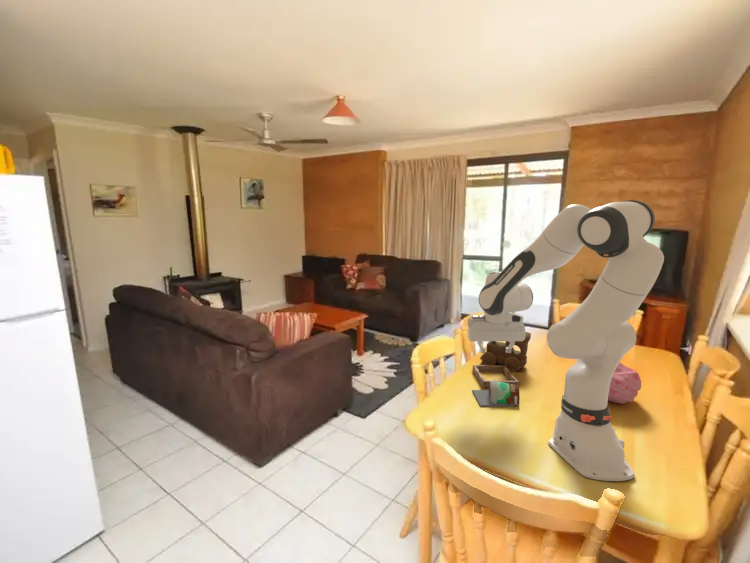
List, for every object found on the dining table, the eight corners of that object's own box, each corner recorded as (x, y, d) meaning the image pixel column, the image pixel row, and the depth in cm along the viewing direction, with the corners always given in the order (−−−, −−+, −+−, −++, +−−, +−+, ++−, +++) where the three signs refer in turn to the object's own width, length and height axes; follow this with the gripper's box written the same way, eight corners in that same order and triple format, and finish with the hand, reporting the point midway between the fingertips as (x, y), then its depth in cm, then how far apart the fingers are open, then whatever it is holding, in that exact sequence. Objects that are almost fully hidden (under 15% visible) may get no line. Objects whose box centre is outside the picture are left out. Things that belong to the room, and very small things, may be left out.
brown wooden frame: (518, 388, 144) (518, 381, 144) (483, 388, 145) (483, 381, 144) (504, 371, 161) (504, 365, 161) (472, 371, 161) (472, 365, 161)
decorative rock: (597, 386, 146) (601, 351, 144) (641, 397, 137) (645, 360, 134) (587, 404, 132) (591, 365, 130) (635, 417, 123) (640, 376, 120)
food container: (520, 390, 128) (491, 387, 131) (519, 406, 129) (490, 403, 132) (516, 376, 140) (489, 373, 142) (515, 391, 141) (489, 388, 143)
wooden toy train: (529, 366, 167) (531, 331, 164) (524, 375, 157) (526, 338, 155) (486, 357, 178) (487, 325, 175) (478, 365, 168) (480, 331, 166)
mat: (513, 406, 130) (514, 405, 130) (480, 406, 130) (480, 405, 130) (502, 391, 142) (502, 390, 142) (472, 391, 142) (472, 389, 142)
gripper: (469, 317, 128) (469, 355, 130) (528, 317, 128) (526, 355, 129) (465, 313, 134) (465, 349, 136) (521, 313, 134) (519, 349, 136)
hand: (495, 352), depth 133 cm, fingers open, 8 cm apart
